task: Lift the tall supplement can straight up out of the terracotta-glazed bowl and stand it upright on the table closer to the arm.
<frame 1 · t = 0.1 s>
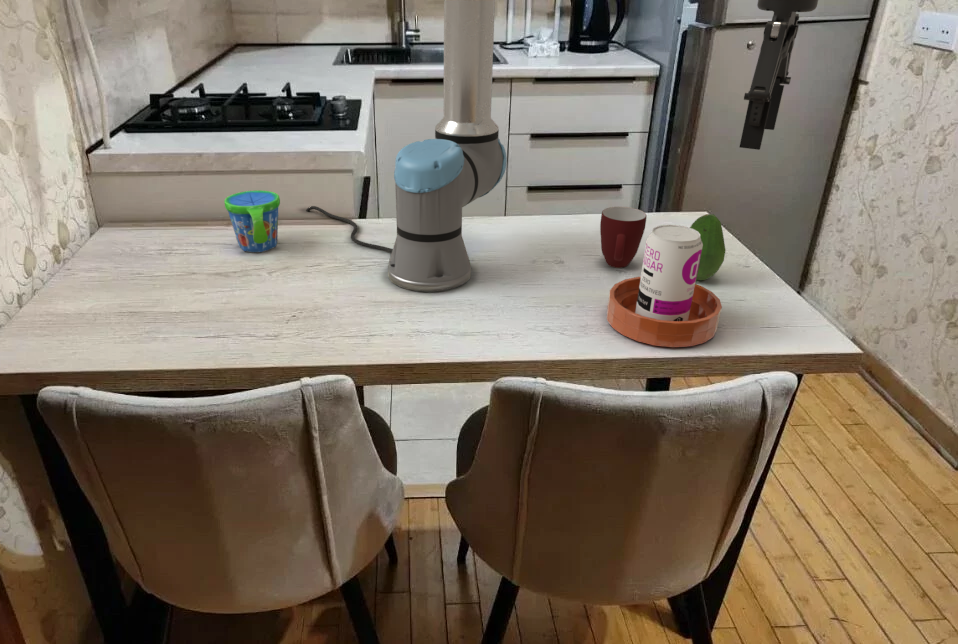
hand: (757, 138, 108), 28 cm above the table, tool pointing down, fingers open, 13 cm apart
supplement can: (660, 322, 117), resting on bowl
avocado: (695, 278, 132), on the table
snack cup: (258, 247, 146), on the table
bowl: (660, 323, 117), on the table
mug: (617, 267, 137), on the table
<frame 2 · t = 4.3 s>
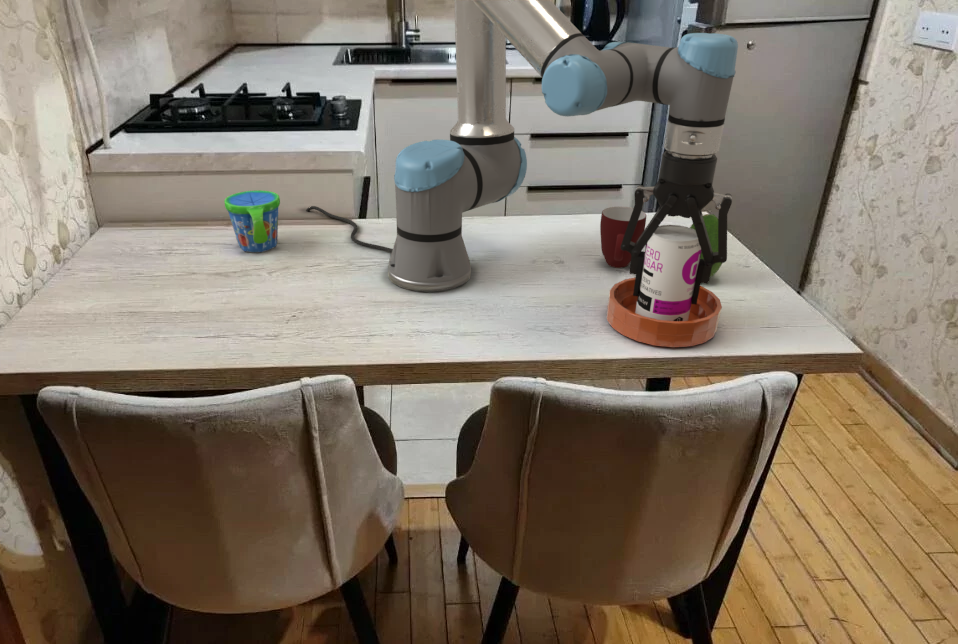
hand: (664, 296, 115), 5 cm above the table, tool pointing down, fingers closed on supplement can, 8 cm apart
supplement can: (660, 322, 117), resting on bowl, touching gripper
everything else where it was.
when the fingers open (4 cm above the table, at t = 12.2 s): supplement can stays where it is, on the table.
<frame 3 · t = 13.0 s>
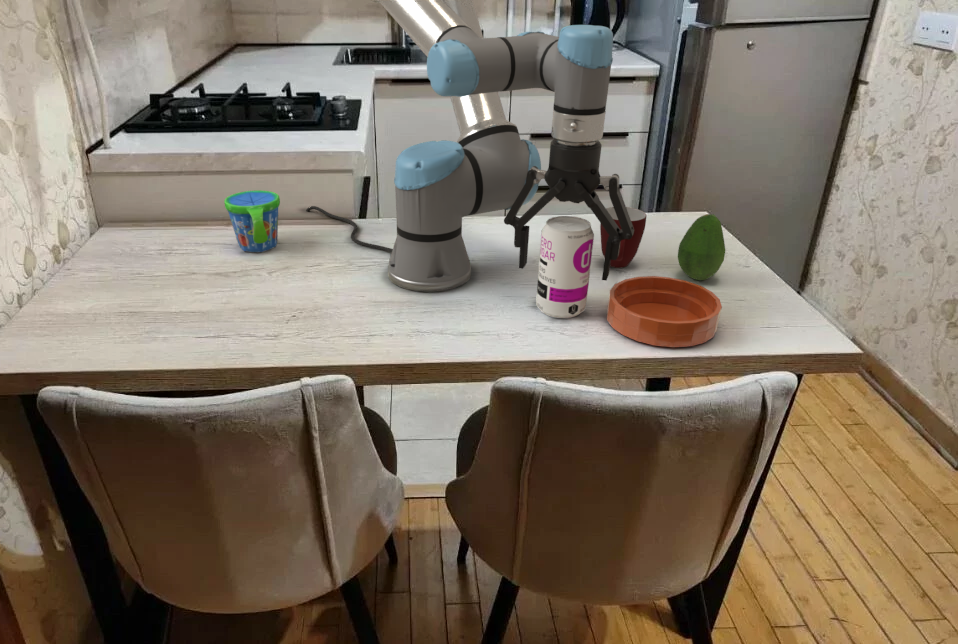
hand: (563, 271, 118), 7 cm above the table, tool pointing down, fingers open, 13 cm apart
supplement can: (560, 309, 122), on the table
everything else where it was.
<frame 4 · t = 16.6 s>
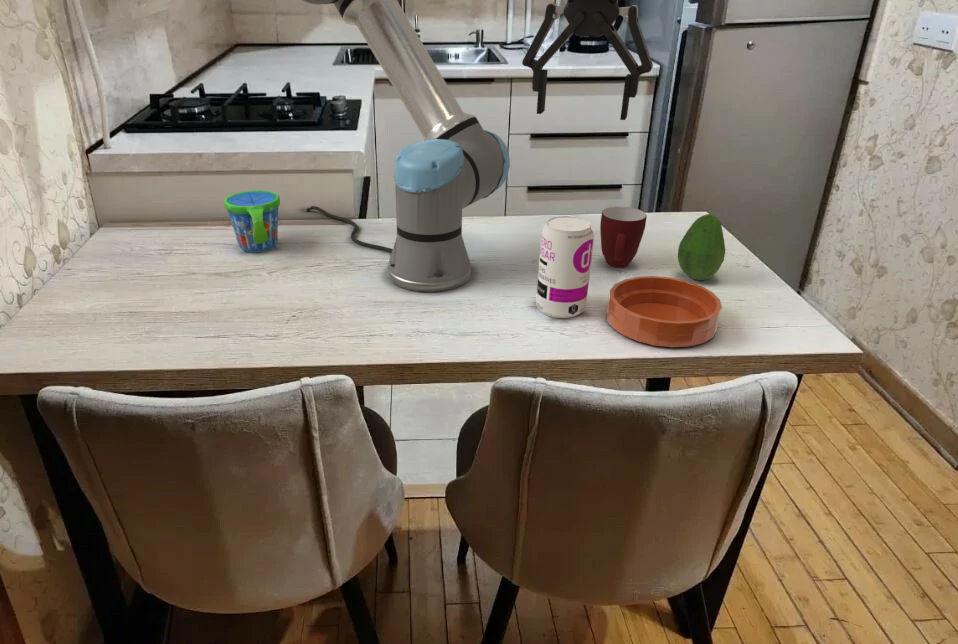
hand: (581, 115, 119), 29 cm above the table, tool pointing down, fingers open, 13 cm apart
nothing on the table moved.
at the end: supplement can inside the target area (0.1 cm from its centre), on the table; supplement can tilted 0°; supplement can touching table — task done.
